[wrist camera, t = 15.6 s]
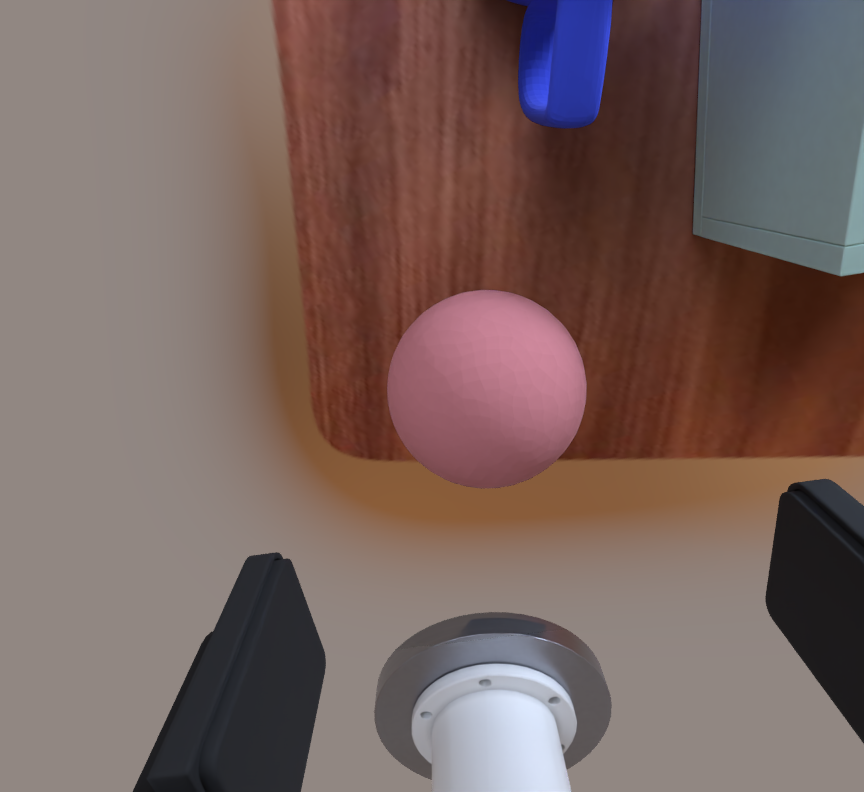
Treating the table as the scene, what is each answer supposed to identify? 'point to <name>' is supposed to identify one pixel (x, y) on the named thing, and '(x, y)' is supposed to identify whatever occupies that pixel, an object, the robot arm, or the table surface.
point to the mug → (563, 60)
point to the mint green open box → (782, 130)
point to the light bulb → (486, 389)
